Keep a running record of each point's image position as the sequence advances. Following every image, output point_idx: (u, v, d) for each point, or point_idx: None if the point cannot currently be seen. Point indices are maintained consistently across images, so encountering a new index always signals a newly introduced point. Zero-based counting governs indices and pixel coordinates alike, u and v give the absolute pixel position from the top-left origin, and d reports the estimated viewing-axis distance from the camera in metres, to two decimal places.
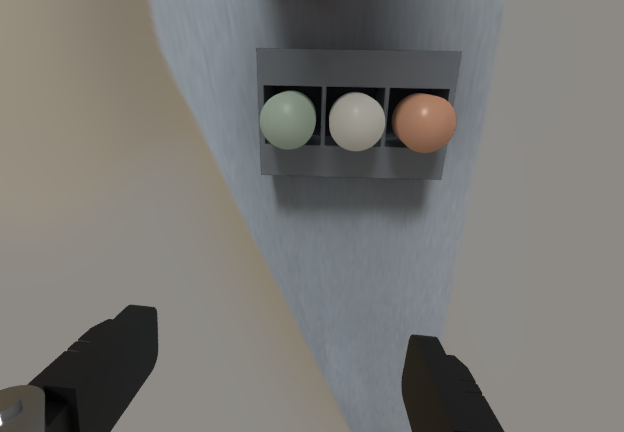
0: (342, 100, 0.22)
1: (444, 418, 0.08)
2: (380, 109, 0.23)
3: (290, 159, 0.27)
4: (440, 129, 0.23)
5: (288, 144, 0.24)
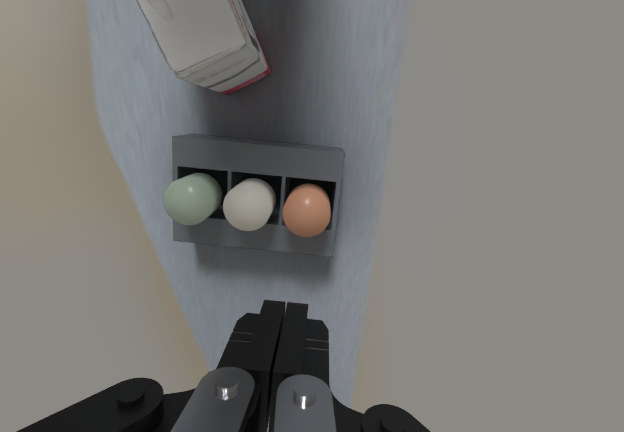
0: (234, 188, 0.26)
1: (275, 364, 0.09)
2: (266, 198, 0.26)
3: (199, 229, 0.31)
4: (317, 218, 0.27)
5: (188, 221, 0.27)
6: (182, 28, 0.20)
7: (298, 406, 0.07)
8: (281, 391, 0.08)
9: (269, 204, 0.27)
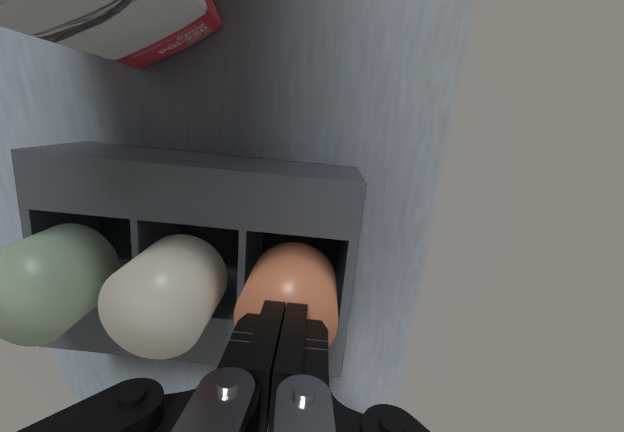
0: (119, 272, 0.12)
1: (274, 364, 0.09)
2: (193, 293, 0.12)
3: (85, 326, 0.16)
4: None
5: (25, 338, 0.12)
6: None
7: (298, 406, 0.07)
8: (281, 391, 0.08)
9: (201, 305, 0.12)
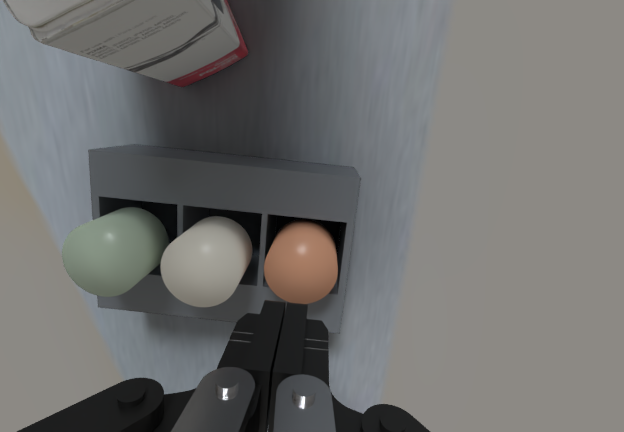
0: (178, 239, 0.16)
1: (274, 364, 0.09)
2: (231, 256, 0.16)
3: (137, 290, 0.20)
4: (317, 277, 0.17)
5: (104, 290, 0.17)
6: None
7: (298, 406, 0.07)
8: (281, 391, 0.08)
9: (237, 265, 0.16)
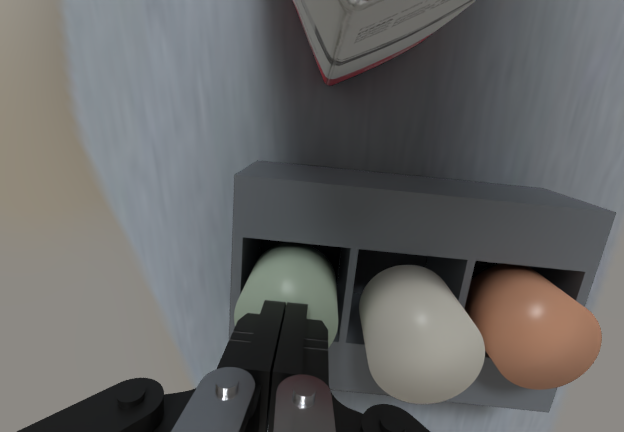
0: (400, 313, 0.11)
1: (274, 364, 0.09)
2: (477, 336, 0.11)
3: None
4: (569, 354, 0.12)
5: None
6: None
7: (298, 406, 0.07)
8: (281, 391, 0.08)
9: (482, 348, 0.11)
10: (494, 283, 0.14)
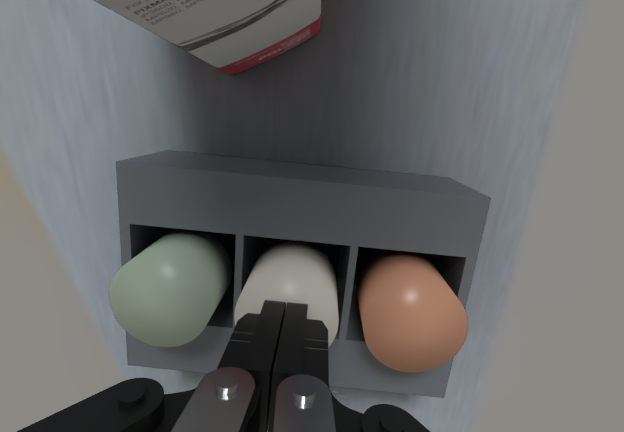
0: (259, 280, 0.12)
1: (274, 364, 0.09)
2: (330, 300, 0.12)
3: None
4: (437, 337, 0.12)
5: (162, 339, 0.13)
6: None
7: (298, 406, 0.07)
8: (281, 391, 0.08)
9: (336, 312, 0.12)
10: (377, 269, 0.14)
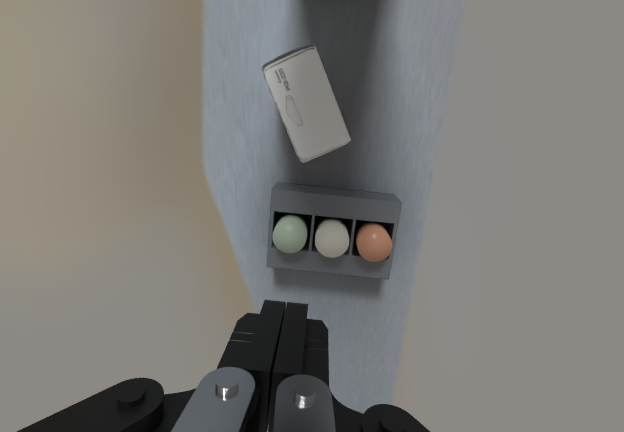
0: (323, 227, 0.37)
1: (274, 364, 0.09)
2: (346, 234, 0.37)
3: (287, 258, 0.40)
4: (382, 248, 0.37)
5: (288, 250, 0.38)
6: (309, 131, 0.29)
7: (298, 406, 0.07)
8: (281, 391, 0.08)
9: (348, 238, 0.37)
10: (362, 227, 0.39)
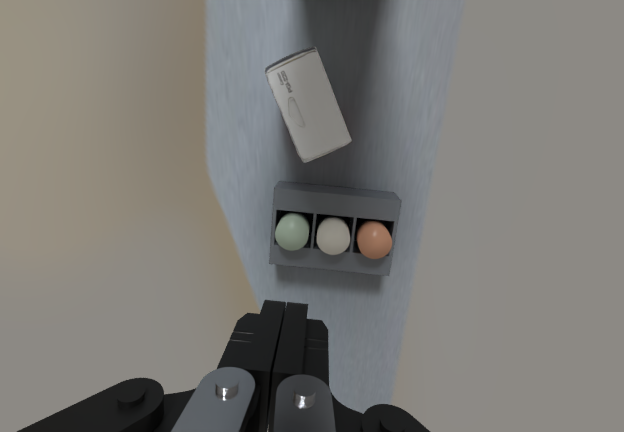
0: (325, 225, 0.38)
1: (275, 364, 0.09)
2: (347, 232, 0.38)
3: (289, 255, 0.41)
4: (382, 246, 0.38)
5: (291, 247, 0.39)
6: (310, 132, 0.30)
7: (298, 406, 0.07)
8: (281, 391, 0.08)
9: (349, 236, 0.38)
10: (363, 225, 0.40)
